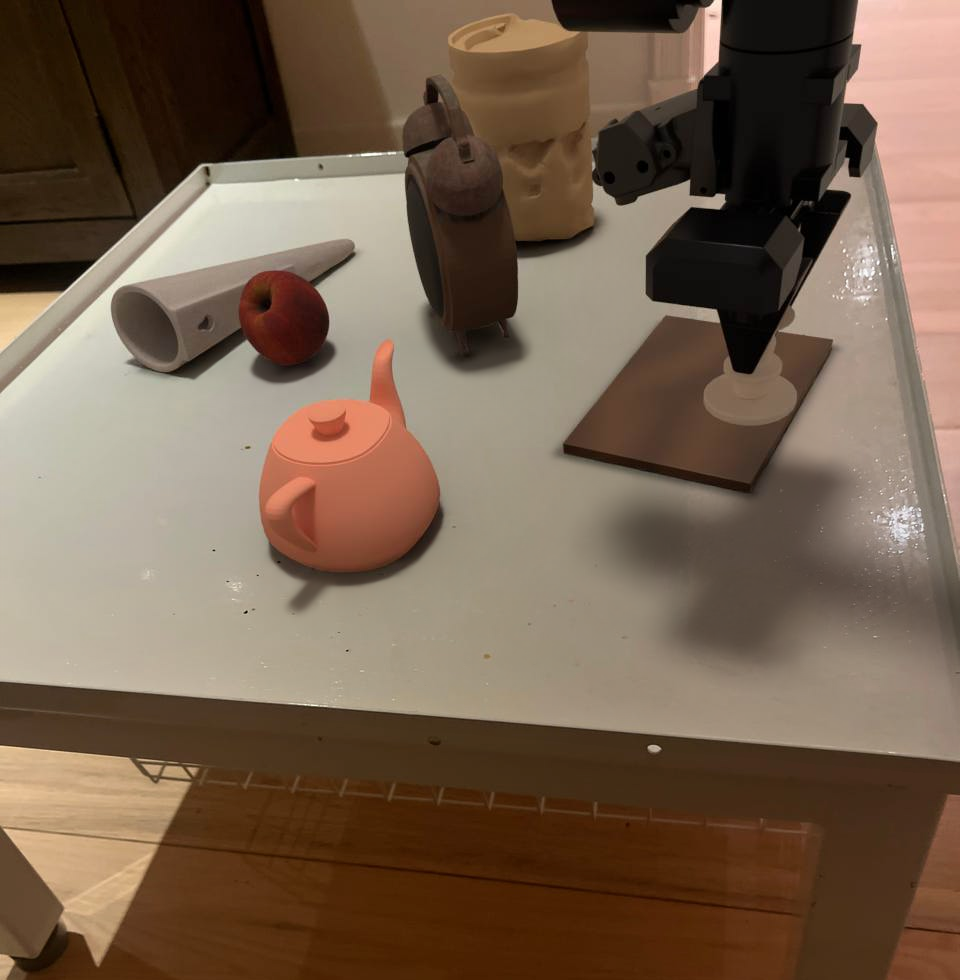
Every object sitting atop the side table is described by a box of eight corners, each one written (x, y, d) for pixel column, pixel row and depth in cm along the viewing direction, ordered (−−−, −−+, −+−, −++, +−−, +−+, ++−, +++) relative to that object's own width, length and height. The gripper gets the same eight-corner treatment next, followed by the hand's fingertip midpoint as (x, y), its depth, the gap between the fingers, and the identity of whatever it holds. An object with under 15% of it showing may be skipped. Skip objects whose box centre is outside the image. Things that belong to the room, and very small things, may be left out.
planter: (288, 199, 101) (99, 280, 84) (354, 205, 97) (170, 291, 80) (302, 274, 105) (126, 364, 89) (365, 282, 102) (194, 379, 85)
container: (523, 198, 105) (507, 6, 92) (618, 218, 98) (615, 14, 85) (446, 244, 99) (418, 45, 86) (542, 268, 92) (527, 58, 79)
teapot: (224, 587, 65) (175, 472, 58) (344, 436, 76) (315, 325, 69) (384, 619, 61) (352, 498, 54) (486, 454, 72) (470, 338, 65)
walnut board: (831, 348, 76) (833, 339, 76) (749, 493, 65) (750, 483, 64) (665, 323, 82) (665, 314, 82) (563, 452, 71) (562, 443, 70)
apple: (236, 367, 86) (207, 281, 80) (299, 329, 90) (276, 244, 84) (290, 389, 82) (264, 300, 76) (354, 348, 86) (334, 260, 80)
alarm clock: (413, 305, 90) (370, 67, 76) (487, 287, 91) (458, 48, 77) (450, 379, 80) (409, 120, 66) (533, 358, 81) (510, 98, 67)
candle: (696, 422, 55) (706, 242, 47) (710, 374, 58) (721, 199, 51) (791, 429, 53) (817, 245, 46) (800, 380, 57) (825, 200, 49)
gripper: (683, -21, 51) (675, 264, 62) (530, 99, 40) (553, 418, 51) (904, -24, 47) (852, 284, 58) (797, 111, 36) (759, 457, 47)
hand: (754, 353), depth 54 cm, fingers closed on candle, 4 cm apart
